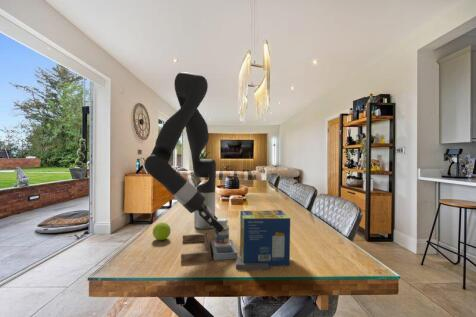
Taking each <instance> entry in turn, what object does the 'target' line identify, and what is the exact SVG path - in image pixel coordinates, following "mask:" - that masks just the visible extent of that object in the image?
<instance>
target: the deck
mask: <svg viewBox="0 0 476 317" xmlns="http://www.w3.org/2000/svg"><path fill="white" fill-rule="evenodd" d="M210 250H211V254H212V257H213V260H214V261H218V260H219V261H220V260H230V259H231V260H233V259H234V260H235V259H237V258H239V257H238V255H239V254H238V253H239V252H238V250H237V249H236V246H235V244H234V242H233V240H232V239H229V243H228V244H227V245H217V244H216V243H215V240H211V241H210Z"/></svg>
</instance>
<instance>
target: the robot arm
mask: <svg viewBox="0 0 476 317" xmlns="http://www.w3.org/2000/svg"><path fill="white" fill-rule="evenodd" d="M208 84H209V83H208V80H207V79H206V78H205V77H204V76H203V75H202V74H201V75H200V74H196V73H191V72H185V71H181V72H178V73H177V75H176V76H175V78H174V90H175V94H176V98H177V101H178V104H179V106H180V108H179V109H178V110H177V111H176V112H175V113H174V114H173V115H171V116H170V117H169V118H168V119H167V120H166V121H165V122H164V124H163V125H162V127H161V128H160V131H159V133H158V135H157V137H156V139H155V140H156V141H155V145H154V147H153V149H152V151H151V153H150V155H149V156H147V157H146V158H145V160H144V169H145V170H146V172H147V173H148V174H149V175H150V176H151V177H153V179H155V180H156V181H157V182H158V183H160V185H162V186H163V187H164V188H165V189H166V190H167V191H168V192H169V193H170V194H171V195H172V196H173V197H174V199H175V200H176V201H177V202H178V203H179V204H180V205H181V206H183V207H184V209H186V210H187V211H188V212H189V213H190V214H192V213H193V214H194V217H193V218H194V219H193V220H194V221H193V222H194V223H193V225H194V226H193V227H194V228H197V229H201V230H209V229H213V228H214V230H215V229H216V230H217V231H218V232H221V231H222V230H223V229H224V228H223V226H222V225H221V224H220V223H219V222H218V221H217V219H219V217H217V216H216V174H217V162H216V160H215V159H213V158H201V157H200V156H201V154H202V152H203V150H204V149H205V148H206V146H207V144H208V143H209V138H210V134H209V126H208V123H207V122H206V120H205V118H204V117H203V115H202V114H201V113H200V111H199V109H198V108H199V107H200V105H201V103H202V102H203V101H204V100H205V97H206V95H207V93H208V88H209V85H208ZM184 130H185V133H186V137H187V141H188V145H189V150H190V156H191V162H192V171H193V174H194V176H195V177H196V178H203V179H204V178H205V179H207V178H208V179H207V181H206V182H204V183H201V184H198V185H197V186H196V187H195V186H194V185H193V184H191V183H190V182H189V181H188V180H187V179H186V178H185V177H184V176H182V175H181V173H179V172H177V171H176V170H175V168H174V167H173V166H172V165H171V164H170V163H169V162H170V161H171V160H170V159H171V156H172V154H173V152H174V150H175V149H176V147H177V144H178V142H179V140H180V139H181V135H182V133H183V131H184Z"/></svg>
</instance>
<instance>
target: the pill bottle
mask: <svg viewBox="0 0 476 317" xmlns="http://www.w3.org/2000/svg"><path fill="white" fill-rule="evenodd" d="M217 221H218V222H219V223H220V224H221V225H222V226H223V228H224V229H223V230H222V231H221V232H218V231H217V230H216V229H215V228H214V241H215V243H216V244H217V245H227V244H228V243H229V240H230V226H229V224H228V222H229V221H228V218H227V217H226V218H225V217H220V218H219V217H218V219H217Z"/></svg>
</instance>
